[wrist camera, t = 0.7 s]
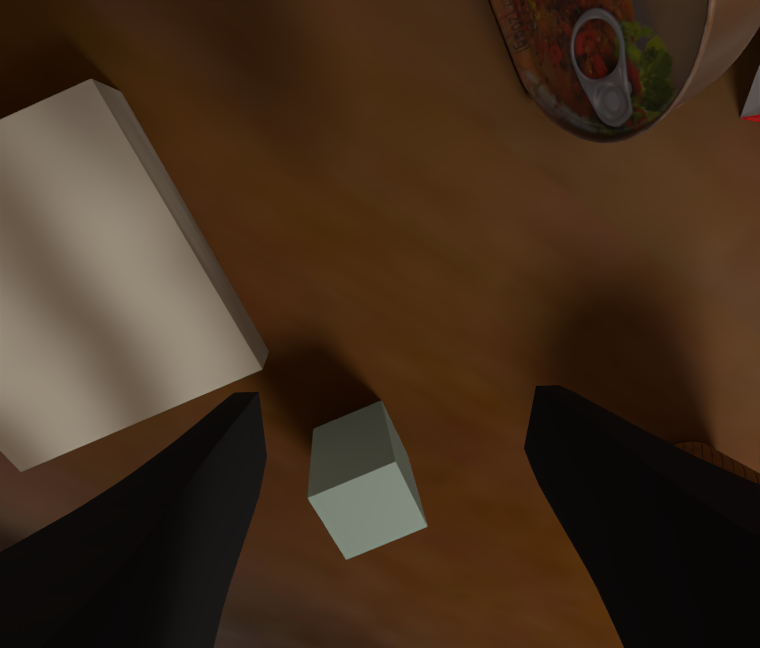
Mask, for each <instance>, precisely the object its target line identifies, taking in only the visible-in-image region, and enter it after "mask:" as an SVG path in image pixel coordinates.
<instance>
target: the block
mask: <svg viewBox="0 0 760 648" xmlns="http://www.w3.org/2000/svg"><path fill="white" fill-rule="evenodd" d="M308 499H309V501H310V503H311V504H312V506H313V507H314V509H315V511H316V512H317V514H318V515H319V517H320V519H321V520H322V522H323V523H324V525H325V527H326V528H327V530H328V531H329V533H330V535H331V536H332V538H333V539H334V541H335V542H336V544H337V546H338V547H339V549H340V550H341V552H342V554H343V555H344V557H345V558H346V560H347V559H349V558H352V557H354V556H357V555H359V554H362V553H364V552H367V551H369V550H371V549H374V548H376V547H379V546H381V545H384V544H386V543H389V542H391V541H393V540H396V539H398V538H401V537H403V536H406V535H408V534H411V533H413V532H415V531H418V530H420V529H423V528H425V527H427V523H426V519H425V516H424V512H423V509H422V505H421V501H420V498H419V494H418V491H417V487H416V484H415V480H414V476H413V473H412V469H411V466H410V462H409V458H408V455H407V453H406V451H405V449H404V447H403V444H402V442H401V440H400V438H399V436H398V434H397V432H396V430H395V428H394V425H393V423H392V421H391V419H390V417H389V415H388V413H387V411H386V409H385V406H384V404H383V402H382V400H381V401H378V402H376V403H374V404H371V405H369V406H367V407H364V408H362V409H359V410H357V411H355V412H352V413H350V414H347V415H345V416H343V417H340V418H338V419H336V420H333V421H331V422H328V423H326V424H324V425H321V426H319V427H316V428H314V429H313V438H312V450H311V463H310V475H309V487H308Z"/></svg>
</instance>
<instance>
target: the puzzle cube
mask: <svg viewBox="0 0 760 648" xmlns="http://www.w3.org/2000/svg"><path fill="white" fill-rule="evenodd" d="M740 118H746V120H751V121H757V122H760V65H759V68H758V71H757V73H756V76H755V79H754V81H753V84H752V87H751V89H750V92H749V95H748V98H747V100H746V103H745V106H744V108H743V111H742V114H741V116H740Z"/></svg>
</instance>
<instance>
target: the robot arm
mask: <svg viewBox="0 0 760 648" xmlns="http://www.w3.org/2000/svg"><path fill="white" fill-rule="evenodd" d="M524 449H525V452H526V455H527V457H528V460H529V462H530V465H531V468H532V470H533V472H534V475H535V477H536V479H537V482H538V484H539V486H540V487H541V489H542V491H543V493H544V495H545V497H546V498H547V500H548V502H549V504H550V505H551V507H552V509H553V511H554V513H555V514H556V516H557V518H558V519H559V521H560V523H561V525H562V526H563V528H564V530H565V532H566V533H567V535H568V537H569V539H570V540H571V542H572V544H573V546H574V547H575V549H576V551H577V553H578V554H579V556H580V558H581V560H582V561H583V563H584V565H585V566H586V568H587V570H588V572H589V574H590V576H591V578H592V580H593V582H594V583H595V585H596V587H597V589H598V591H599V593H600V596H601V598H602V600H603V602H604V604H605V607H606V609H607V611H608V613H609V615H610V617H611V620H612V622H613V624H614V626H615V628H616V630H617V633H618V635H619V637H620V639H621V642H622V644H623V646H624V648H760V484H758V483H755V482H753V481H751V480H748V479H746V478H744V477H741V476H739V475H737V474H734V473H732V472H730V471H727V470H725V469H723V468H720V467H718V466H716V465H713V464H711V463H709V462H707V461H705V460H703V459H700V458H698V457H696V456H694V455H692V454H690V453H688V452H686V451H684V450H682V449H680V448H678V447H676V446H674V445H672V444H670V443H668V442H666V441H664V440H662V439H660V438H658V437H656V436H654V435H652V434H650V433H648V432H646V431H644V430H643V429H641V428H639V427H637V426H635V425H633V424H631V423H630V422H628V421H626V420H624V419H622V418H620V417H619V416H617V415H615V414H613V413H611V412H609V411H608V410H606V409H604V408H602V407H600V406H599V405H597V404H595V403H593V402H591V401H589V400H588V399H586V398H584V397H582V396H580V395H578V394H576V393H574V392H572V391H570V390H568V389H566V388H564V387H561V386H559V385H553V386H536V390H535V395H534V400H533V405H532V410H531V415H530V420H529V425H528V430H527V435H526V441H525V446H524ZM266 458H267V454H266V446H265V438H264V430H263V422H262V414H261V406H260V398H259V392H240V393H233V394H232V395H230V396H229V397H228V398H227V399H225V400H224V401H223V402H222V403H221V404H219V405H218V406H217V407H216V408H215V409H213V410H212V411H211V412H210V413H209V414H207V415H206V416H205V417H204V418H203V419H202V420H200V421H199V422H198V423H197V424H195V425H194V426H193V427H192V428H191V429H189V430H188V431H187V432H186V433H184V434H183V435H182V436H181V437H179V438H178V439H177V440H176V441H175V442H173V443H172V444H171V445H169V446H168V447H167V448H165V449H164V450H163V451H161V452H160V453H158V454H157V455H156V456H154V457H153V458H152V459H150V460H149V461H148V462H146V463H145V464H144V465H142V466H141V467H140V468H138V469H137V470H136V471H134V472H133V473H131V474H130V475H129V476H127V477H126V478H124V479H123V480H121V481H120V482H118V483H117V484H115V485H114V486H112V487H111V488H109V489H108V490H106V491H105V492H103V493H101V494H100V495H98V496H97V497H95V498H94V499H92V500H90V501H89V502H87V503H86V504H84V505H83V506H81V507H79V508H78V509H76V510H74V511H73V512H71V513H69V514H67V515H66V516H64V517H62V518H60V519H59V520H57V521H55V522H53V523H52V524H50V525H48V526H46V527H44V528H43V529H41V530H39V531H37V532H36V533H34V534H32V535H30V536H29V537H27V538H25V539H23V540H21V541H20V542H18V543H16V544H14V545H13V546H11V547H9V548H7V549H5V550H3V551H1V552H0V648H213V647H214V643H215V639H216V635H217V630H218V626H219V622H220V618H221V613H222V609H223V606H224V602H225V599H226V596H227V592H228V589H229V585H230V582H231V579H232V576H233V573H234V570H235V567H236V564H237V561H238V558H239V555H240V552H241V549H242V546H243V543H244V540H245V537H246V534H247V531H248V528H249V525H250V522H251V519H252V516H253V513H254V510H255V507H256V504H257V500H258V497H259V494H260V489H261V484H262V479H263V474H264V469H265V464H266Z"/></svg>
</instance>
